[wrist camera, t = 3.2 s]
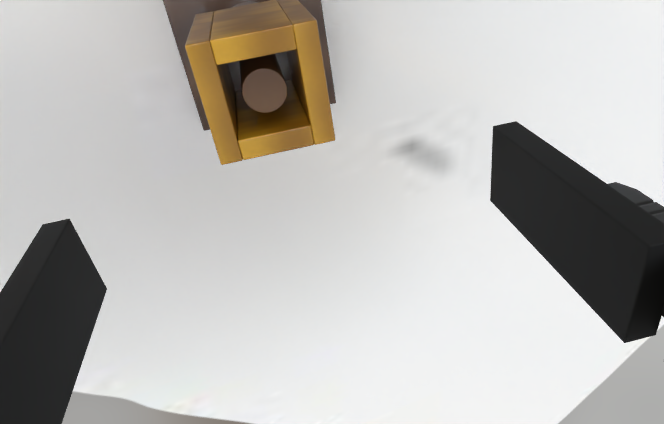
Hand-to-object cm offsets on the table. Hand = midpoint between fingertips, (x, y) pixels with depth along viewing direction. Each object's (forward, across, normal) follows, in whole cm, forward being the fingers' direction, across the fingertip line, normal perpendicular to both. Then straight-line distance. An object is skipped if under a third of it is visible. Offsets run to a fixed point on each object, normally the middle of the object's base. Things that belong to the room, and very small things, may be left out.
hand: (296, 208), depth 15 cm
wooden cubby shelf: (+20, 0, 0) cm, 20 cm away
